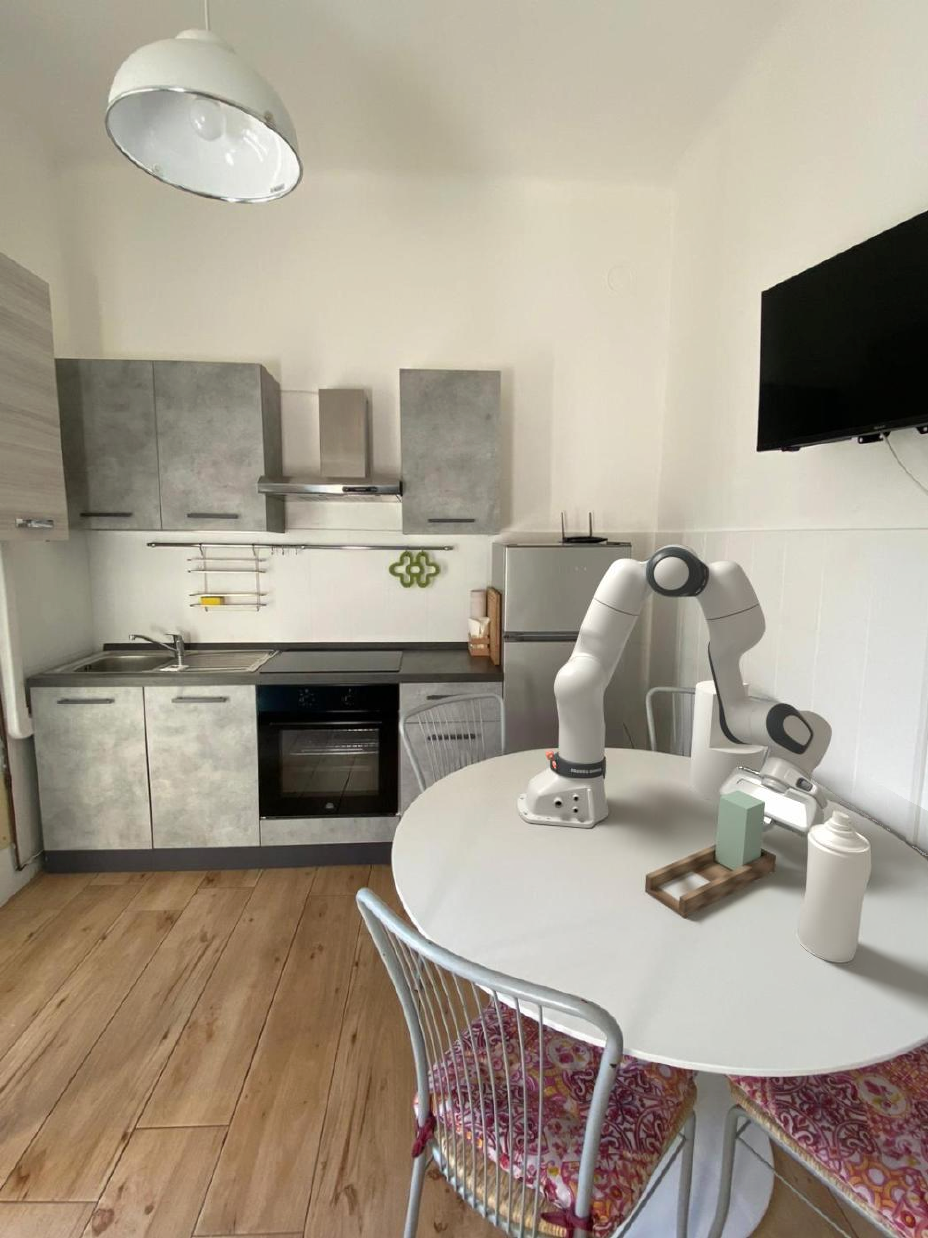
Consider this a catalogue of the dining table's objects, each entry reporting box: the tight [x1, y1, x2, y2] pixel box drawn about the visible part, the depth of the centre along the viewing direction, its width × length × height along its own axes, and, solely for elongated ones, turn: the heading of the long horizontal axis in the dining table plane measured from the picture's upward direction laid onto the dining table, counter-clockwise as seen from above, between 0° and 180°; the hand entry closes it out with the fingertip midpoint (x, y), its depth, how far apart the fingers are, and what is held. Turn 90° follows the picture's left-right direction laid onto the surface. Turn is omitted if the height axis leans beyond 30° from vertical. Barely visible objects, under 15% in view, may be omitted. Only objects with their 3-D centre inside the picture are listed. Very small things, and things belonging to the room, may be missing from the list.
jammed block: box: [715, 790, 765, 871], centre depth 118 cm, size 6×6×14 cm
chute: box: [644, 843, 777, 919], centre depth 115 cm, size 28×9×4 cm, turn 121°
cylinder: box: [688, 679, 765, 804], centre depth 153 cm, size 17×17×28 cm
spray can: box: [795, 810, 872, 964], centre depth 95 cm, size 12×11×25 cm
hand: (750, 835), depth 121 cm, fingers closed
